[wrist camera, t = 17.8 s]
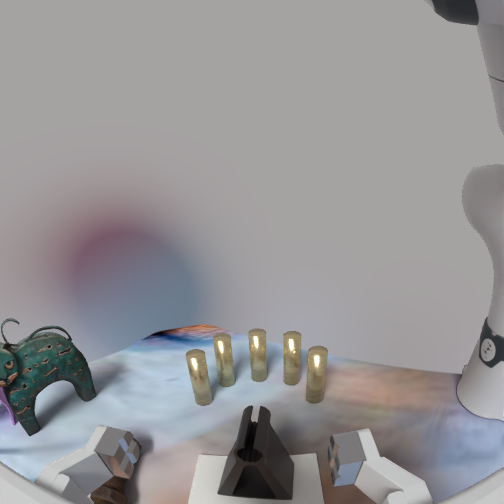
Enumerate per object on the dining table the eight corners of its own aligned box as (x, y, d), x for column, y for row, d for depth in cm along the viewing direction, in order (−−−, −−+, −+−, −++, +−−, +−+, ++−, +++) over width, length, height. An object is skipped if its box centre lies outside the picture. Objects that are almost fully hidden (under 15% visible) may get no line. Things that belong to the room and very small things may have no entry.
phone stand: (294, 465, 29) (299, 406, 26) (292, 500, 23) (298, 448, 21) (226, 460, 30) (215, 402, 28) (217, 494, 25) (200, 441, 22)
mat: (315, 455, 31) (315, 453, 31) (324, 512, 21) (325, 510, 21) (199, 456, 31) (199, 454, 31) (187, 512, 22) (186, 510, 22)
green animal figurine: (24, 443, 26) (-31, 340, 21) (13, 424, 29) (-34, 326, 24) (104, 397, 42) (72, 300, 38) (87, 384, 46) (58, 292, 41)
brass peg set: (315, 369, 52) (318, 325, 49) (324, 402, 42) (329, 355, 40) (203, 372, 53) (196, 329, 50) (193, 405, 43) (183, 359, 41)
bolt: (109, 533, 17) (127, 455, 31) (134, 535, 16) (149, 449, 31) (71, 514, 15) (98, 434, 30) (93, 515, 15) (119, 426, 29)
